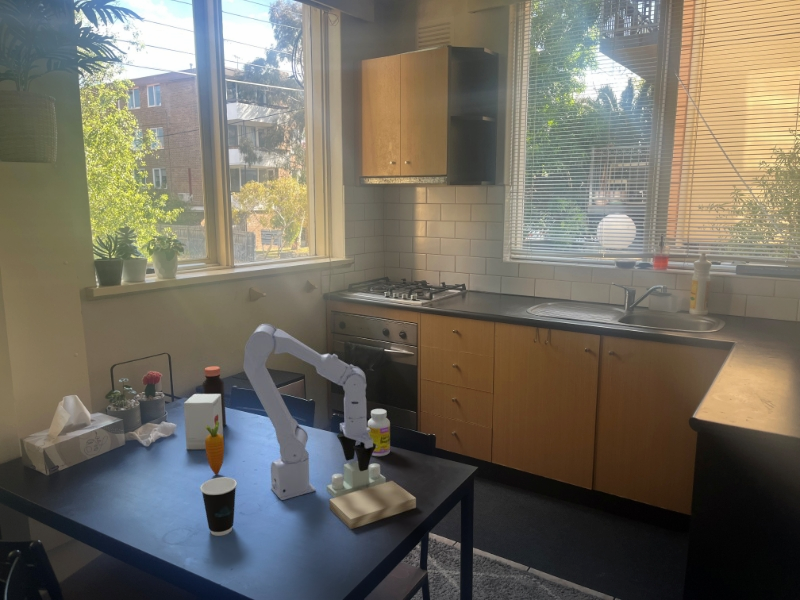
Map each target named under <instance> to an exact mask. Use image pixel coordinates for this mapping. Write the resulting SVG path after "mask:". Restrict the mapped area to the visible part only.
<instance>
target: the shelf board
mask: <svg viewBox="0 0 800 600" xmlns="http://www.w3.org/2000/svg"><path fill="white" fill-rule="evenodd" d="M328 500H329V509H330V511H331V512H332V513H334V514H335V516H336V517H337V518H339V519H340V520H341V521H342V523H344V524H345V525H346V526H347V527H348V528H349V529H350V530H353V529H355V528H358V527H362V526H366V525H368V524H371V523H374V522H377V521H380V520H383V519H386V518H389V517H392V516H394V515H398V514H401V513H403V512H407V511H410V510H413V509H416V508H417V498H416V497H415V496H414V495H412V494H411V493H410V492H409V491H407V490H406V489H404V488H403V487H402V486H400V485H398V484H397V483H396V482H394V480H389V481H386V483H383V484H379V485H376V486H373V487H369V488H366V489H362V490H359V491H356V492H352V493H349V494H346V495H342V496H339V497H336V498H334V497H332V498H330V499H328Z"/></svg>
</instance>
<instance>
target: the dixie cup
mask: <svg viewBox="0 0 800 600" xmlns="http://www.w3.org/2000/svg"><path fill="white" fill-rule="evenodd" d="M237 485H238V483H237V481H236V480H235V479H234V478H232V477H224V476H222V477H215V478H211V479H209V480H208V479H207V480H206V481H205V482H203V483H202V484H201V485H200V488H199V489H200V491H201V493H202V499H203V504H204V509H205V516H206V520H207V526H208V529H209V530H210V534H211V535H213V536H216V537H217V536H219V537H220V536H225V535H228V534H229V533H230V532H232V530H233V526H234V520H235V519H234V518H235V505H236V504H235V501H236V491H237V490H236V489H237Z"/></svg>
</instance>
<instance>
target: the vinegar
mask: <svg viewBox="0 0 800 600" xmlns="http://www.w3.org/2000/svg"><path fill="white" fill-rule="evenodd" d="M220 376H221V367H220V366H217V365H215V366H207V367H205V368H204V377H205V380H204V381H203V382H202V394H221V405H222V423H223V427H225V426H226V424H227V418H226V401H225V385H224V384H225V382H224V380H223V379H221V378H220Z"/></svg>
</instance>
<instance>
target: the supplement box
mask: <svg viewBox="0 0 800 600" xmlns="http://www.w3.org/2000/svg"><path fill="white" fill-rule="evenodd" d="M183 413H184V427H185V428H184V429H185V445H186V446H185V447H186V450H206V446H205V440H206V438H207V436H209V435H211V434H210V433H209V431H208V430H207V429H206V426H207V425H208V426H209V427H210V429H211V431H212V428H213V430H214V428H215V426H216V421H218V422H219V427H218V431H217V434H220V435H222V436H223V437H224V426H223V423H222V405H221V394H203V393H194V394H192V395H191V396H190V397H189V398H188V399H187V400H186V401H184V402H183Z"/></svg>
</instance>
